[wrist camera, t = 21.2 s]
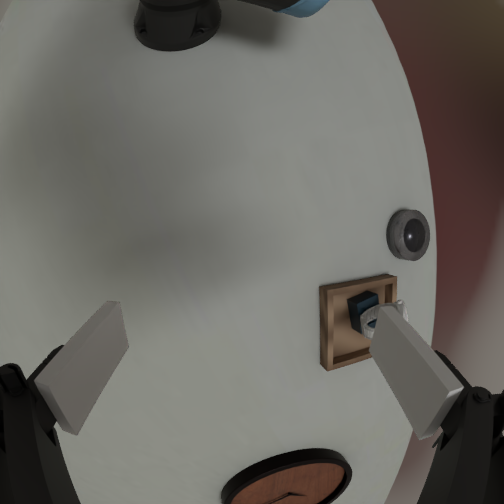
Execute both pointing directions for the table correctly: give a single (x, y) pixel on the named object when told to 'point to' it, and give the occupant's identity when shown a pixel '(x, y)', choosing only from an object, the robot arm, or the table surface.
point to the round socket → (408, 235)
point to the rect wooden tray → (348, 320)
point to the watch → (369, 312)
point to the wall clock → (291, 479)
